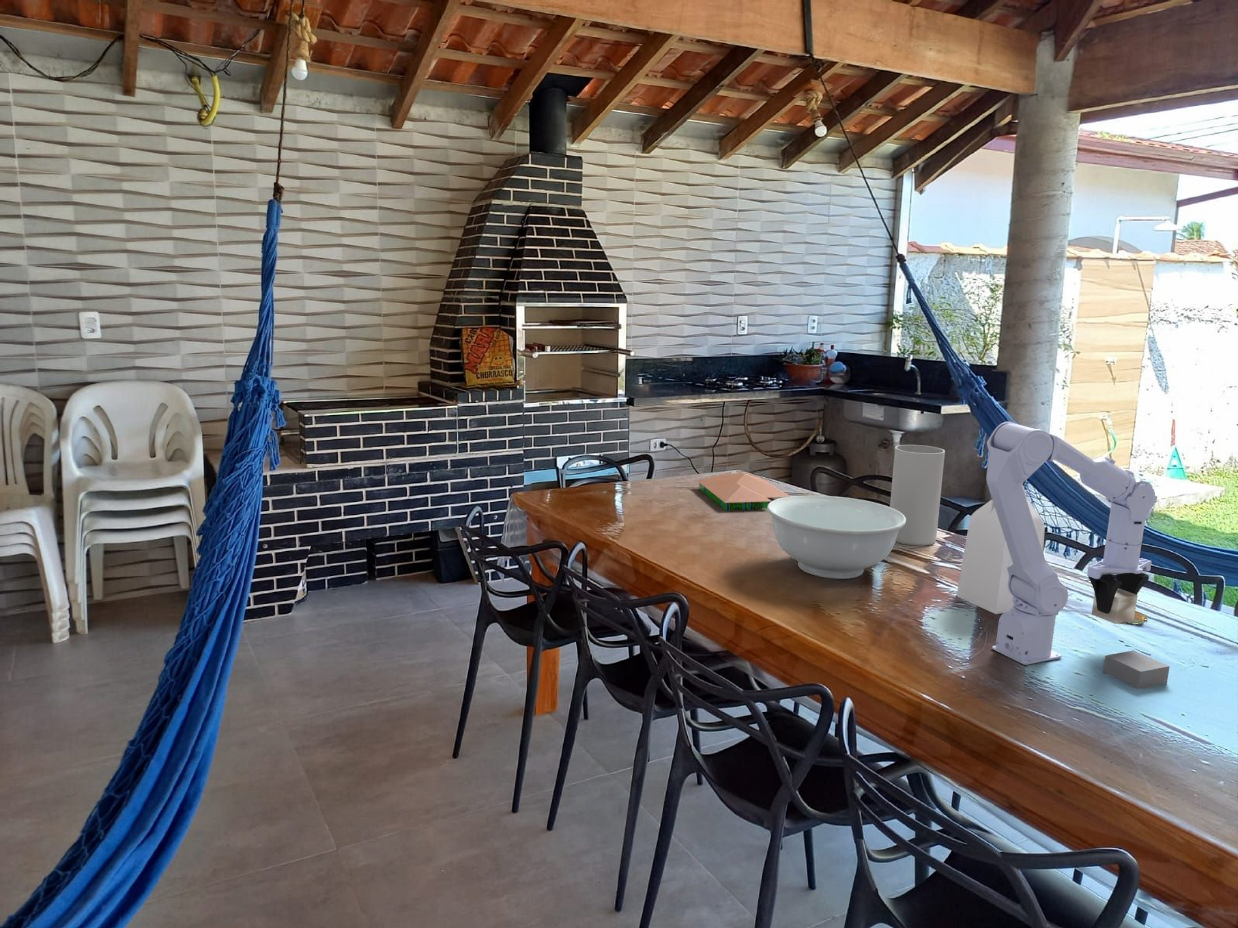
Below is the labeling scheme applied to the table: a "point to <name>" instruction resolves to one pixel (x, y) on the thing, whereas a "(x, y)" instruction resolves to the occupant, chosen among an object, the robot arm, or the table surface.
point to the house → (740, 489)
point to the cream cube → (1119, 608)
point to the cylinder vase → (917, 492)
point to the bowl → (835, 533)
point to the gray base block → (1136, 669)
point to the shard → (1138, 618)
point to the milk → (989, 560)
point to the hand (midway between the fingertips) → (1113, 609)
